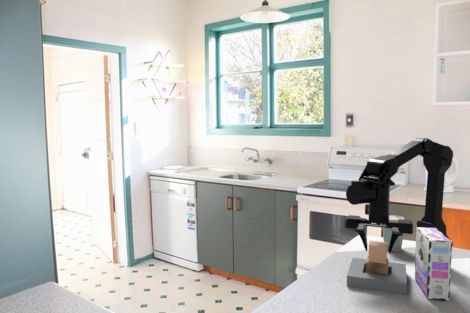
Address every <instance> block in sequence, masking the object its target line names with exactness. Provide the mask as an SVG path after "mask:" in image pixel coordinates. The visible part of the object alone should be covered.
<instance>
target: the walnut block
mask: <svg viewBox="0 0 470 313" xmlns="http://www.w3.org/2000/svg"><path fill="white" fill-rule="evenodd" d="M366 259H367V262H366V273H369V274H376V275H384V276H388V262H389V257H387V263H386V264H382V263H374V262H368V261H369V255H367V258H366Z"/></svg>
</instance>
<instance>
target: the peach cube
mask: <svg viewBox="0 0 470 313" xmlns="http://www.w3.org/2000/svg"><path fill="white" fill-rule="evenodd" d="M368 243H369V244H368V256H369V261H368V262H374V263H382V264H386V263H387V258H388V250H387V242H384V241H380V240H379V241H376V240H369V242H368Z"/></svg>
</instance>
